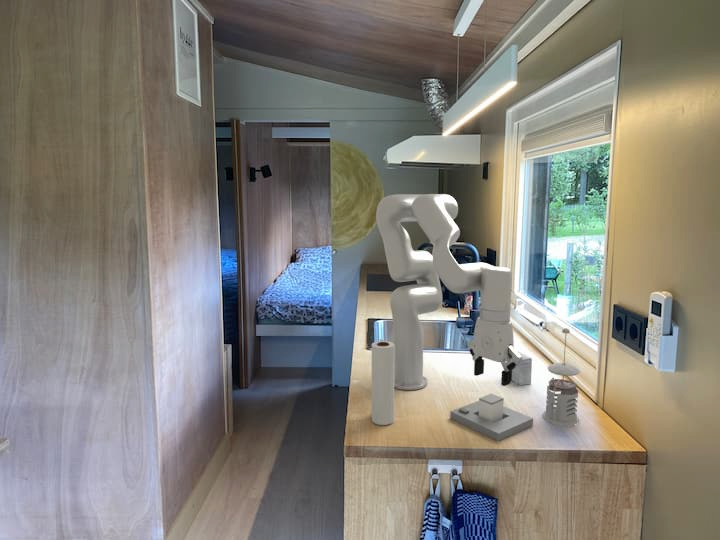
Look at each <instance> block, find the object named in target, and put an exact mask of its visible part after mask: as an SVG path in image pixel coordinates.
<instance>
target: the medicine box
mask: <svg viewBox="0 0 720 540" xmlns="http://www.w3.org/2000/svg"><path fill="white" fill-rule="evenodd" d="M516 351H517V350H516ZM517 352H518V353H519V355H520V356H521V357H522V360H521V362H520V363H519V364H518V366H517V367H515V368H514V369H513V370H512V381H511V382H514V383H516V385H519V386H525V385H531V384H532V364H533V363H532V361H533V358H532V357H530V356H528V355H526V354H524V353H522V352H520V351H517ZM513 360H514V358H513V357H512V359H511V361H512V362H513ZM506 363H507V361H506ZM507 365H508V364H507Z"/></svg>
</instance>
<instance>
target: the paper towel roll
mask: <svg viewBox="0 0 720 540" xmlns="http://www.w3.org/2000/svg"><path fill="white" fill-rule="evenodd" d="M394 378H395V345H394V343H393V341H388V340H385V339H379V341H374V342H372V343H371V421H372V423H374V424H376V425H377V426H387V425H391V424H393V423H394V421H395V388H394Z"/></svg>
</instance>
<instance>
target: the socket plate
mask: <svg viewBox="0 0 720 540" xmlns="http://www.w3.org/2000/svg"><path fill="white" fill-rule="evenodd" d="M449 414H450V415H449V416H450V417H449V418H450V419H451V420H453V421H455V422H457V423H459V424H462V425H464V426H466V427H468V428H469V429H472V430H474V431H476V432H477V433H478V432H479V433H481V434H483V435H484V436H487V437H489V438H491V439H493V440H495V441H497V442H500V441H502V440H504V439H507V438H508V437H511V436H513V435H515V434H517V433H520V432H522V431H524V430H526V429H528V428H531V427H533V425H534V418H533V417H531V416H529V415H527V414H523V413H521V412H518V411H517V410H513V409H511V408H509V407H506V406H504V405H503V419H502V420H499V421H497V422H494V423H493V422H491V421H489V420H487V419H484V418H482V417H480V416H479V400H476V401H474V402H471V403H469V404H466V405H464V406H461V407H458V408H455V409H453V410H450V413H449Z"/></svg>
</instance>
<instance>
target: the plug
mask: <svg viewBox="0 0 720 540" xmlns="http://www.w3.org/2000/svg"><path fill="white" fill-rule="evenodd" d="M478 399H479V400H478V401H479V416H480V417H482V418H484V419H487V420H489V421H491V422H493V423H494V422H497V421H499V420H502V419H503V406H504V399H505V398H504V397H501V396H498V395H496V394H493V393H489V394H486V395H484V396H481V397H479V398H478Z"/></svg>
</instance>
